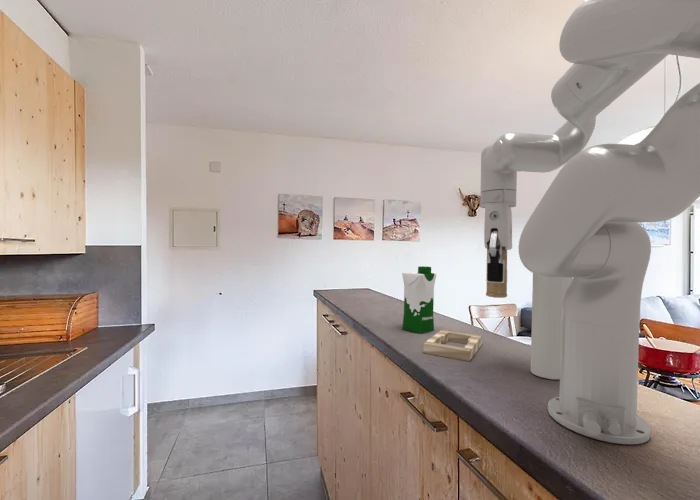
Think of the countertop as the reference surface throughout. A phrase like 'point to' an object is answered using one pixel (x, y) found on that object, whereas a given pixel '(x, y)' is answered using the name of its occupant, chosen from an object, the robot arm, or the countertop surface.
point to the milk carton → (419, 300)
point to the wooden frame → (462, 353)
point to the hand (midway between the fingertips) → (496, 279)
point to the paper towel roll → (547, 324)
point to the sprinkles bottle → (498, 287)
